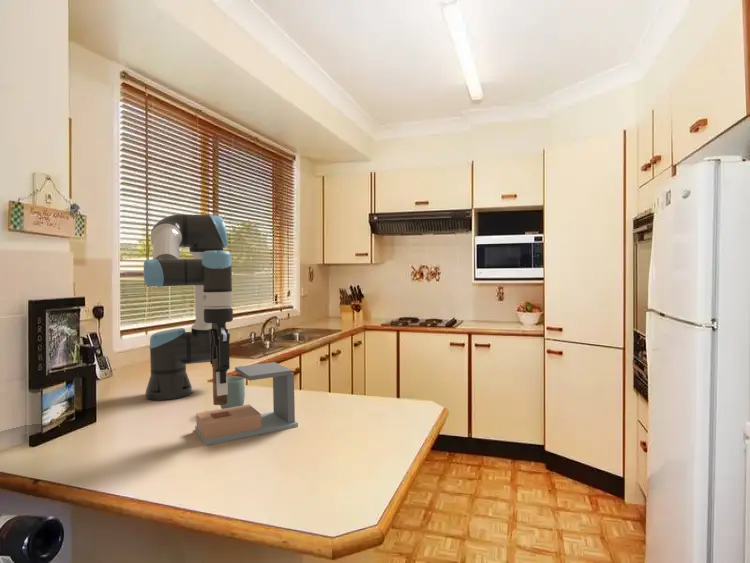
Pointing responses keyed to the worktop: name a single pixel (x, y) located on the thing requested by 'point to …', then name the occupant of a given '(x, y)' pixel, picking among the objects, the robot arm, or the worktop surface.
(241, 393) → the cup
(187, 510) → the worktop surface
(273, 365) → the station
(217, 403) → the peg
